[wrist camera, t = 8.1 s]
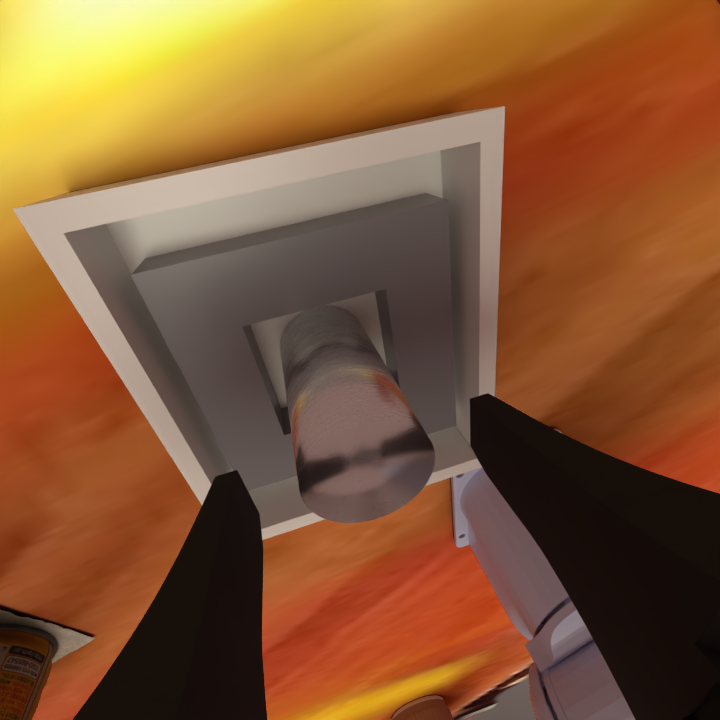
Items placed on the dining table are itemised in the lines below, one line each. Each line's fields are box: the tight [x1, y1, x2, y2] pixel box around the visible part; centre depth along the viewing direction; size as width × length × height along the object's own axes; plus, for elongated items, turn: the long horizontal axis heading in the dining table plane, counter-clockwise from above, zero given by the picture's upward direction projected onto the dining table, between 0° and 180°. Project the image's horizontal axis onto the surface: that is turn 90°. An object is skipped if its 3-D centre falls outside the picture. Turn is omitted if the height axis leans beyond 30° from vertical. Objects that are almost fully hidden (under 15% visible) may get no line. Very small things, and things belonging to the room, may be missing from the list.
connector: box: [280, 305, 435, 523], centre depth 14 cm, size 4×4×8 cm
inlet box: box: [13, 106, 505, 540], centre depth 16 cm, size 16×14×4 cm
